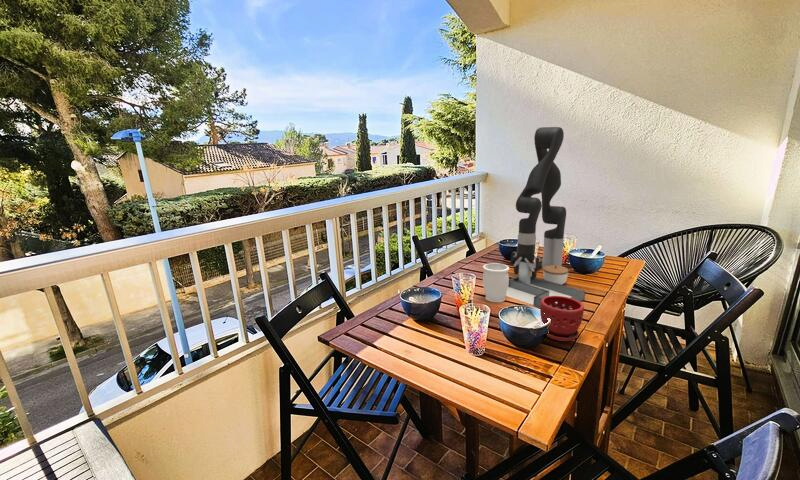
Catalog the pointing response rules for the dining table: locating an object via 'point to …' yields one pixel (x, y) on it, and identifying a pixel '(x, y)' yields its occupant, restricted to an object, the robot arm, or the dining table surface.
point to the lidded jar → (555, 274)
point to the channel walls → (542, 293)
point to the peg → (524, 273)
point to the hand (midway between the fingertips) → (524, 276)
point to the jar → (495, 281)
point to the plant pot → (562, 317)
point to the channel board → (530, 295)
